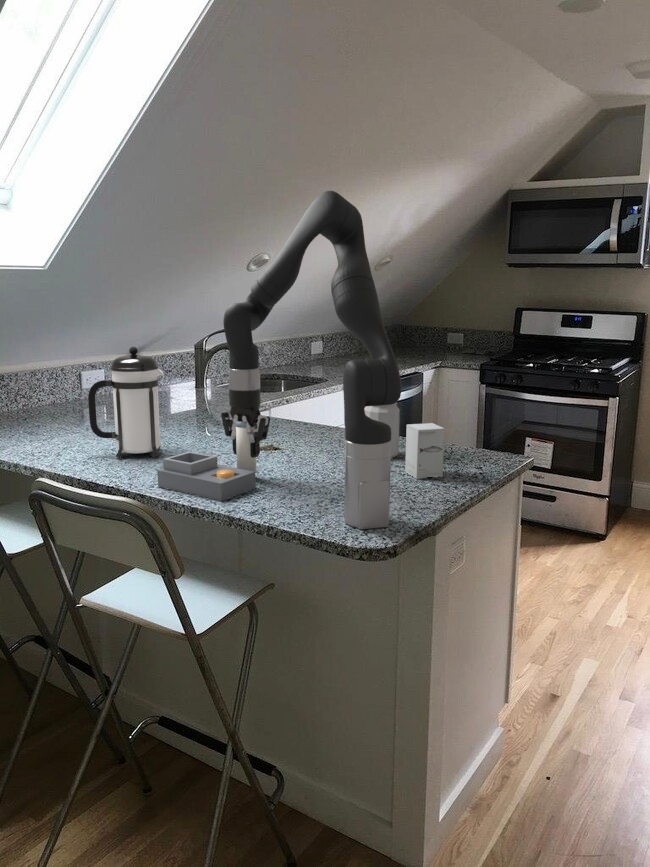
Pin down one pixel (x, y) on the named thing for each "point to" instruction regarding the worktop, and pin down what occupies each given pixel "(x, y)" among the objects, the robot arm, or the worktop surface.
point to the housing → (203, 476)
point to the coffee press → (132, 404)
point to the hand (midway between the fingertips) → (246, 455)
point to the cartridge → (244, 448)
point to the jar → (387, 422)
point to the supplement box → (424, 450)
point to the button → (225, 474)
